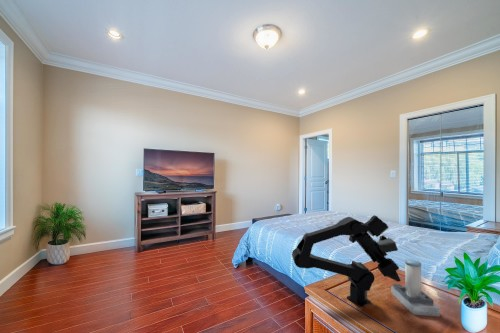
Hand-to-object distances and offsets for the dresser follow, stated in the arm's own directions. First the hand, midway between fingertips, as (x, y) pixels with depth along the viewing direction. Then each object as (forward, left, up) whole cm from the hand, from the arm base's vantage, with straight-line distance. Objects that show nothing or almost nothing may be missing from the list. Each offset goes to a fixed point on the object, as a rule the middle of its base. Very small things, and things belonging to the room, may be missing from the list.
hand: (393, 274), depth 85 cm
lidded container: (+6, -4, -8) cm, 11 cm away
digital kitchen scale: (+6, -4, -11) cm, 13 cm away
